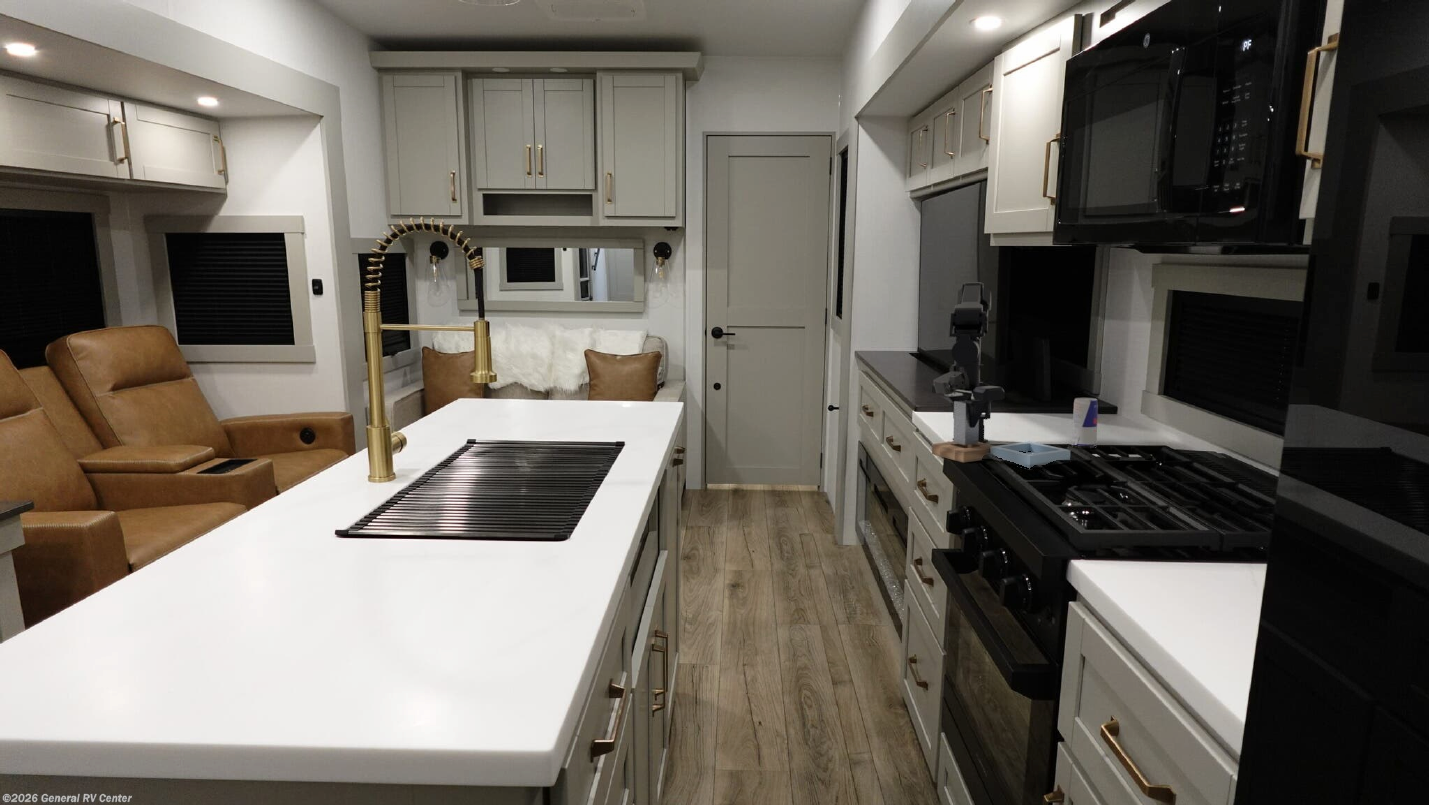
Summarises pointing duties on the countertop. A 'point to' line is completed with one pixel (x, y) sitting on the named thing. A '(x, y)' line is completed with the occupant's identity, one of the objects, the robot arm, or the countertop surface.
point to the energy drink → (1085, 422)
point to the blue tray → (1030, 453)
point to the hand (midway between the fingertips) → (966, 426)
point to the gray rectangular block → (964, 425)
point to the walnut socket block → (961, 451)
